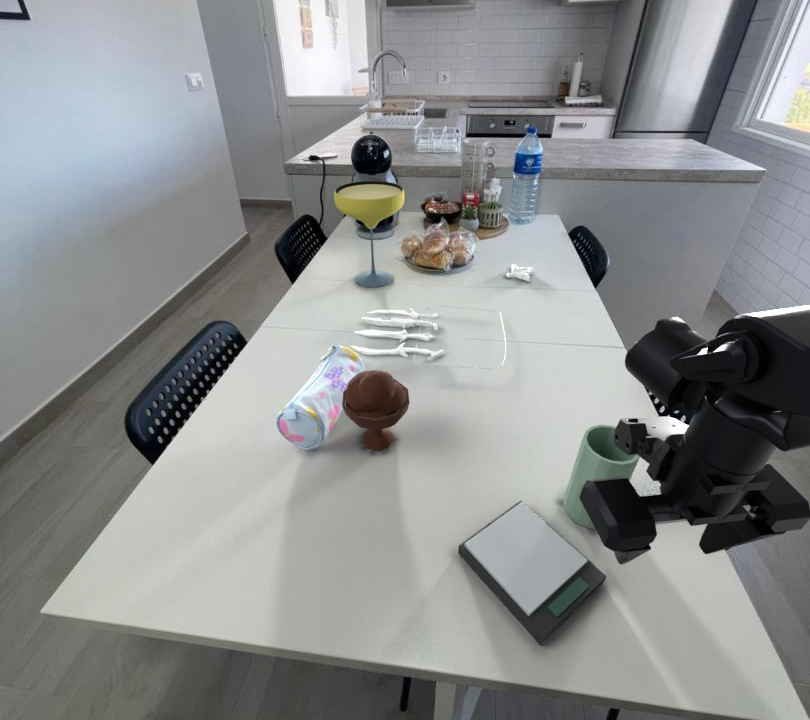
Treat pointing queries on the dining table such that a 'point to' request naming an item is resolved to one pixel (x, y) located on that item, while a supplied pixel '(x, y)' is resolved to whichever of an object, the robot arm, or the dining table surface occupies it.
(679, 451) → the robot arm
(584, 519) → the tumbler
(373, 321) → the knife set
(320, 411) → the pencil case
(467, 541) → the scale
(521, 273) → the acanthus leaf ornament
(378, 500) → the dining table surface
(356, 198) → the cocktail glass
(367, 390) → the ice cream bowl
